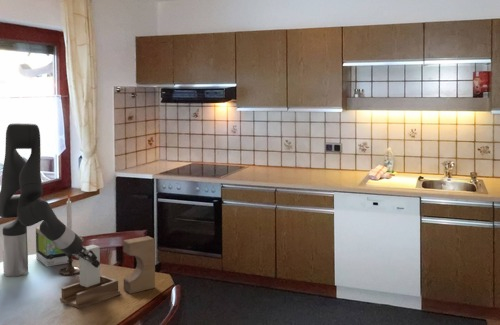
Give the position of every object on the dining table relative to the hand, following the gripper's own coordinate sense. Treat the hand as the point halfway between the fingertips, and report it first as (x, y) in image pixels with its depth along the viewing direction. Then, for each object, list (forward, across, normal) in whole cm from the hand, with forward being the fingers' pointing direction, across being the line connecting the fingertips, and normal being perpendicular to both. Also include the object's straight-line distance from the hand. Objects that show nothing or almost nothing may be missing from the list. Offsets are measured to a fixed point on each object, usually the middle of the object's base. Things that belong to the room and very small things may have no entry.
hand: (94, 264), depth 198 cm
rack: (+7, 0, +10) cm, 12 cm away
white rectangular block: (+4, 0, +6) cm, 7 cm away
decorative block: (+20, -8, -2) cm, 21 cm away
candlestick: (+16, +29, +2) cm, 33 cm away
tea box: (+19, +48, -1) cm, 52 cm away
